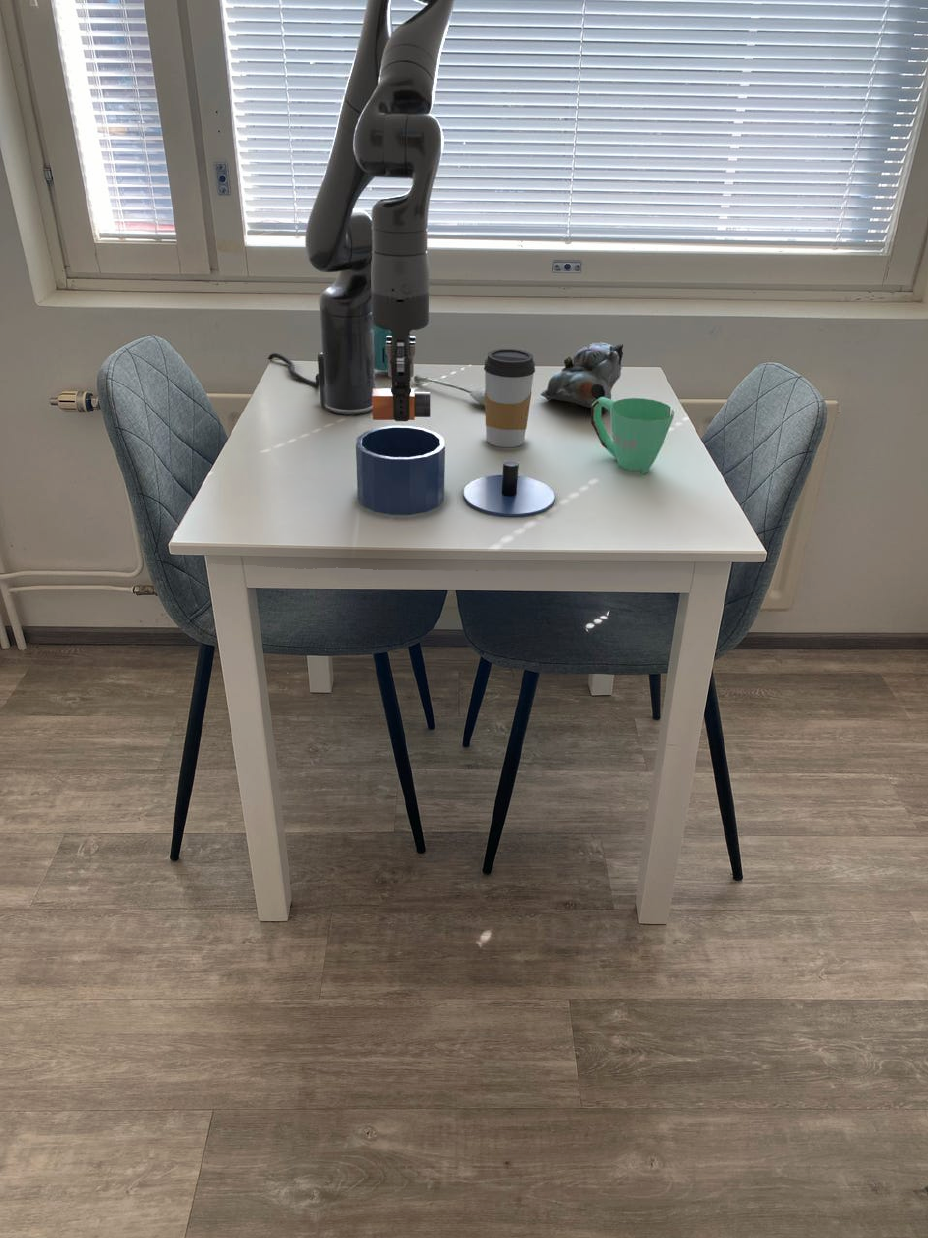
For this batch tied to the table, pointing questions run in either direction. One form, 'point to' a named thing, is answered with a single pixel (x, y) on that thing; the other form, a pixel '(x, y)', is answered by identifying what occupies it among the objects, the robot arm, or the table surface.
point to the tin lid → (509, 493)
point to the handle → (384, 404)
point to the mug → (633, 430)
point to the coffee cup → (507, 395)
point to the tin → (400, 470)
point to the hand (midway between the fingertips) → (401, 414)
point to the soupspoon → (475, 394)
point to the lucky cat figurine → (587, 375)
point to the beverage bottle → (380, 348)
